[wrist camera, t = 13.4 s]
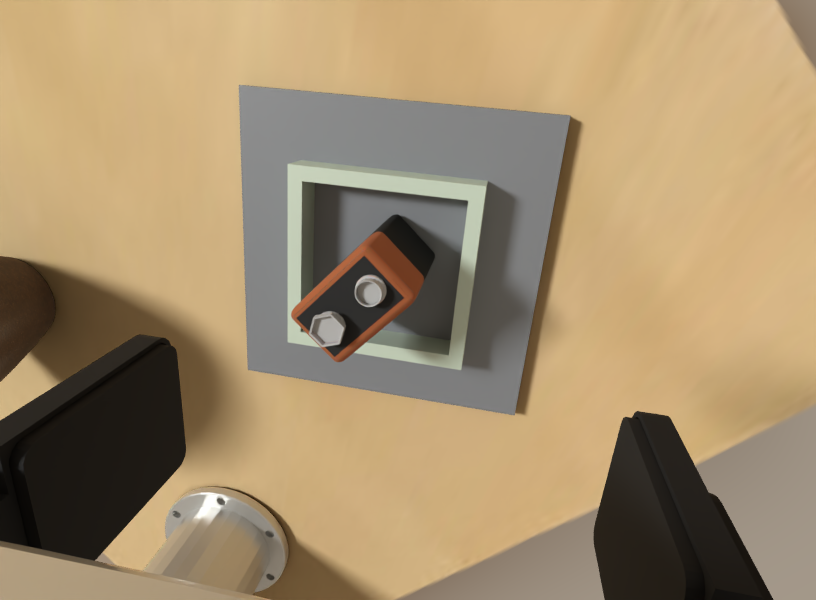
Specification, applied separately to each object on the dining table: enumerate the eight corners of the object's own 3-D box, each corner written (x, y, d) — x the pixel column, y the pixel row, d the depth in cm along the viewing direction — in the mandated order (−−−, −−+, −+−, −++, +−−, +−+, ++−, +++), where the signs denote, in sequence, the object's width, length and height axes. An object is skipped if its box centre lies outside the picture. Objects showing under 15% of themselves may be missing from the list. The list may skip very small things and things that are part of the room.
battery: (333, 270, 39) (278, 321, 30) (397, 209, 37) (359, 246, 28) (373, 312, 40) (332, 375, 31) (439, 255, 37) (416, 305, 28)
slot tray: (514, 408, 42) (514, 434, 38) (253, 364, 45) (233, 384, 41) (568, 115, 34) (575, 116, 30) (245, 85, 37) (220, 83, 33)
